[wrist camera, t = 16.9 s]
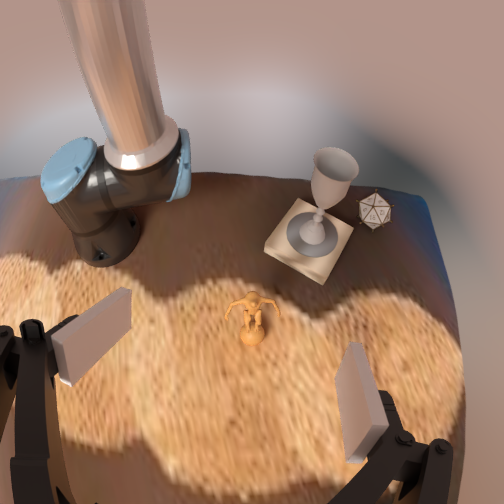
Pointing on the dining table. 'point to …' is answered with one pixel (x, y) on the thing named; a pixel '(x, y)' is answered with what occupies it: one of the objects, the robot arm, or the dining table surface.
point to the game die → (374, 211)
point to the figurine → (251, 330)
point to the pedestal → (301, 253)
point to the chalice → (328, 187)
